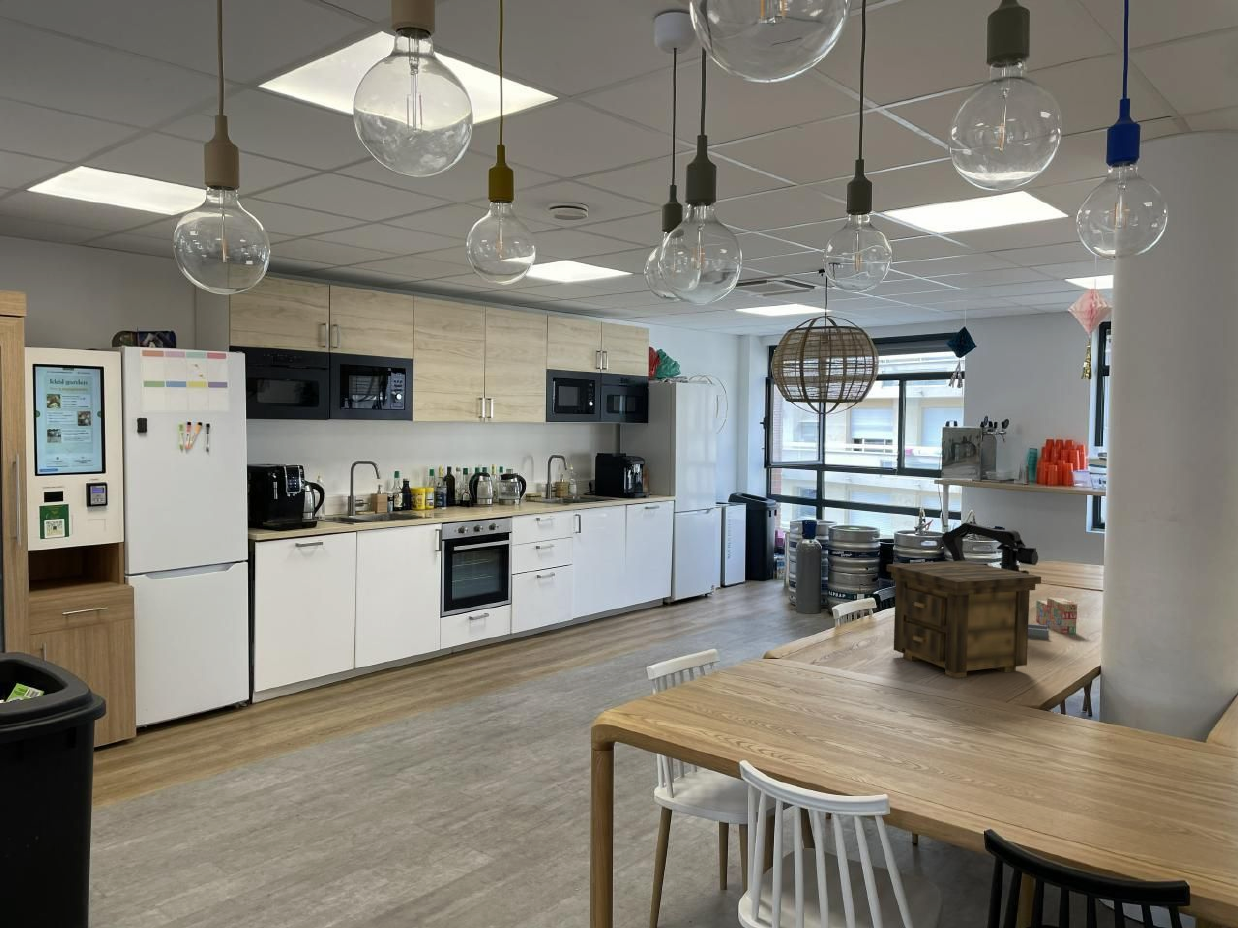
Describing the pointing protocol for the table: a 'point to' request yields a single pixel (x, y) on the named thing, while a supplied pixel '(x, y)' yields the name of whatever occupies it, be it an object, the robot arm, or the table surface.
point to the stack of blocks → (1057, 614)
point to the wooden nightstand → (962, 615)
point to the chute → (1038, 631)
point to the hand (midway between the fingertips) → (1006, 599)
